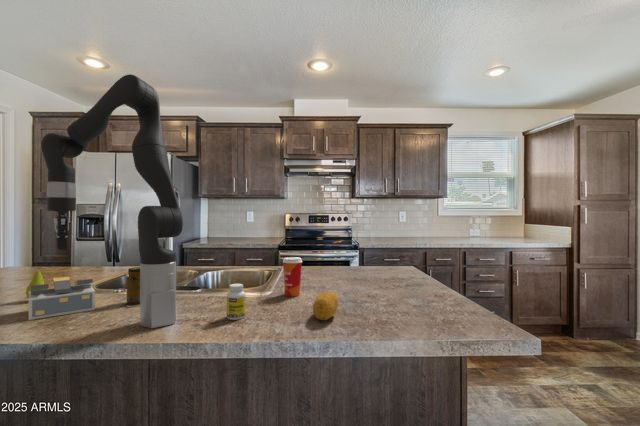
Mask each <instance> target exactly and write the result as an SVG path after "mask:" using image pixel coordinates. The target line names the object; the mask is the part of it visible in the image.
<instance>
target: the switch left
mask: <svg viewBox="0 0 640 426" xmlns="http://www.w3.org/2000/svg"><path fill="white" fill-rule="evenodd" d="M49 286H50V285H49V283H44V284H41V285H32V286H31V291H33V290H41V289H50V288H49Z"/></svg>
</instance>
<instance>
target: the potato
mask: <svg viewBox="0 0 640 426" xmlns="http://www.w3.org/2000/svg"><path fill="white" fill-rule="evenodd" d="M338 308H339V300H338V296H337V295H336V293H335V292H333V291H328V290H326V291H323V292H321V293H320V294H319V295H317V297H316V298H315V300H314V301H313V304H312V313H313V315H314V316H315V318H316V319H318V320H320V321H328V320H329V319H330V318H331V317H333V316H334V315H335V314H336V312H337V310H338Z"/></svg>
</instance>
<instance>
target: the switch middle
mask: <svg viewBox="0 0 640 426" xmlns="http://www.w3.org/2000/svg"><path fill="white" fill-rule="evenodd" d="M52 282H53V288H54V290H55V294H58V293H66V292H71V289H72V288H71V286H72V285H71V278H70V276H63V277H62V276H61V277H53V281H52Z"/></svg>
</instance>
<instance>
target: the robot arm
mask: <svg viewBox="0 0 640 426" xmlns="http://www.w3.org/2000/svg"><path fill="white" fill-rule="evenodd" d="M123 105H125V106H127V107H129V108H131V109H132V110H134V111H135V112H136V114H137V116H138V122H139V129H138V131H137V133H136V135H135V136H134V139H133V141H132V143H131V151H132V158H133V163H134V167H135V169H136V171H137V172H138V174H139V175H140V177H141V178H142V179H143V180H144V181H145V183H147V184H148V186H149V187H150V188H151V190H153V192H154V193H155V195H156V197H157V199H158V201H159V204H160V205H145V206H142V208H141V209H140V210H139V212H138V216H137V234H138V235H137V236H138V252H139V258H140V261H139V263H140V265H139V267H140V306H139V317H140V318H139V320H140V321H139V325H140V327H144V328H150V329H157V328H160V327H165V326H166V327H167V326H171V325H175V323H176V321H177V253H176V251H174V250H172V249H168V248H165V247H163V246H162V245H160V242H159V239H166V238H176V237H178V236H180V235H181V233H182V232H183V227H184V222H183V221H184V220H183V214H182V213H183V212H182V210H181V207H180V203H179V200H178V197H177V193H176V190H175V188H174V187H175V186H174V183H173V179H172V176H171V175H172V174H171V170H170V163H169V157H168V152H167V148H166V144H165V139H164V134H163V133H164V132H163V127H162V121H161V111H160V109H161V107H160V98H159V95H158V92H157V91H156V89H155V88H154V87H153V86H151V85H150V84H148V83H147V82H146V81H144V80H143V79H141V78H140V77H138V76H136V75H134V74H125V75H122V77H120V78H119V79H118V80H117V81H115V83H113V85H112V86H111V87H109V89H107V91H106V92H105V93H104V94H103V95H102V96H101V97H100V98H99V99H98V100H97V102H96V103H95V104H94V105H93V106H92V107H91V108H90V109H89V110H88V111H87V112H86V113H84V114H83V115H81V116H80V117H78V118H77V119H76V120H74V121H72V123H70V124H69V125H68V126H67V128H66V132H67V135H68V136H66V135H63V134H59V133H53V132H50V133H47V134H45V135H44V136H43V137H42V140H41V143H40V148H41V153H42V155H43V159H44V161H45V165H46V167H47V186H46V211H48V212H56V216H54V217H53V223H54V231H55V237H56V248H57V249H58V250H59V251H63V250H65V251H66V250H67V247H68V244H67V241H68V240H67V238H68V237H69V233H68V232H69V230H70V224H69V223H70V216H68V214H67V213H68V212H75V211H77V189H76V170H75V167H74V166H72V165H71V164H68V163H66V161H65V159H74V158H77V157H79V156H80V155H81V154H82V153H83V152H84V150H85V149H86V148H87V146H88V145H89V143H90V142H92V141H93V140H95V139H96V138H98V137H99V136H100V135H102V134H103V133H104V132H105V131H106V130H107V128H108V126H109V123H110V119H111V116H112V114H113V112H114V111H115V110H116V109H117V108H119V107H121V106H123Z"/></svg>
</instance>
